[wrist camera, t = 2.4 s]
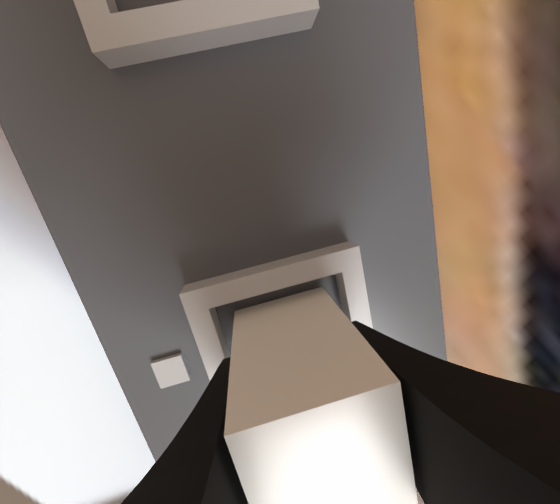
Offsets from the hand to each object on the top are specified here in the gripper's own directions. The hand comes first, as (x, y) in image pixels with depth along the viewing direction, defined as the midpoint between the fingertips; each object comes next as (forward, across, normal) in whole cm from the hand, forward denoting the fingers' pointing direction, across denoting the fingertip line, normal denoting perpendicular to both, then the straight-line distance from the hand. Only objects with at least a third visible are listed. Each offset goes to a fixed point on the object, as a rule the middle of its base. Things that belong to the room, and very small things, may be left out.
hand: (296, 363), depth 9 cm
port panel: (+2, 0, -7) cm, 7 cm away
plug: (+2, 0, 0) cm, 2 cm away
